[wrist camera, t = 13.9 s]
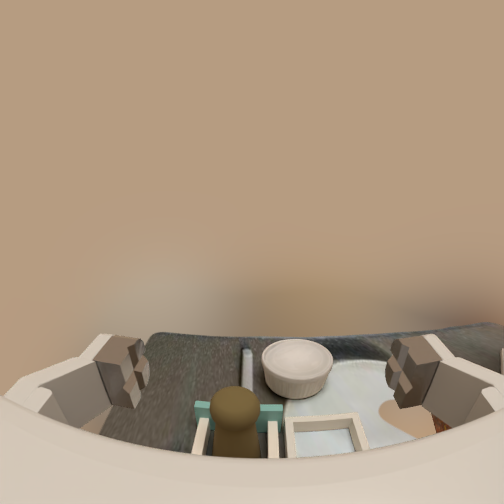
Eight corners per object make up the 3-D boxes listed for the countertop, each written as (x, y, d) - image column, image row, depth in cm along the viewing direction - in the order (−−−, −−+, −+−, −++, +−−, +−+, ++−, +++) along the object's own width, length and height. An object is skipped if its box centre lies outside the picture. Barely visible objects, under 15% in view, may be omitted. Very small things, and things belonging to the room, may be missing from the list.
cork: (204, 446, 30) (195, 386, 27) (246, 432, 33) (247, 372, 30) (224, 480, 25) (218, 425, 22) (270, 463, 28) (276, 405, 25)
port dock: (282, 479, 25) (286, 460, 24) (187, 474, 26) (181, 454, 24) (279, 426, 34) (282, 404, 33) (199, 422, 34) (195, 400, 33)
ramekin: (274, 356, 51) (276, 332, 50) (334, 369, 47) (338, 344, 45) (249, 393, 41) (249, 367, 40) (319, 411, 37) (324, 385, 35)
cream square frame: (370, 476, 24) (376, 467, 24) (287, 485, 24) (289, 477, 24) (353, 422, 34) (357, 412, 33) (283, 427, 34) (284, 417, 33)
